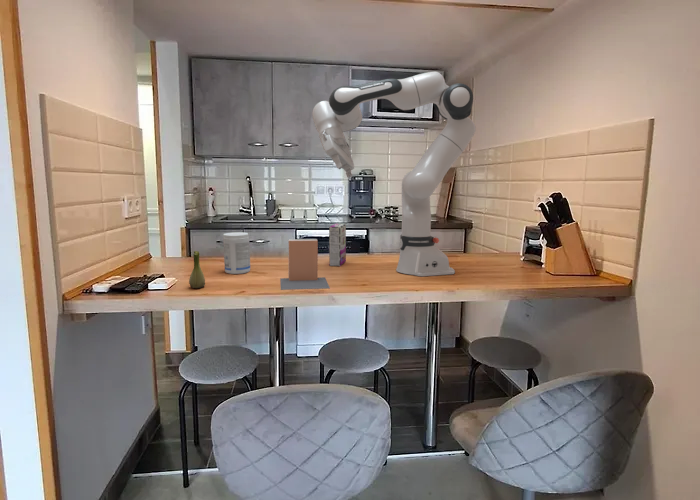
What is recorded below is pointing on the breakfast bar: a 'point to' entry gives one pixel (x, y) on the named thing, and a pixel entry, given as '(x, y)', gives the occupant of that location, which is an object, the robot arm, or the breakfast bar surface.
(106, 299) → the breakfast bar surface
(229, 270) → the supplement tub
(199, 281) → the fennel bulb
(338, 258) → the candy bar box
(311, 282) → the felt mat
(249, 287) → the breakfast bar surface
